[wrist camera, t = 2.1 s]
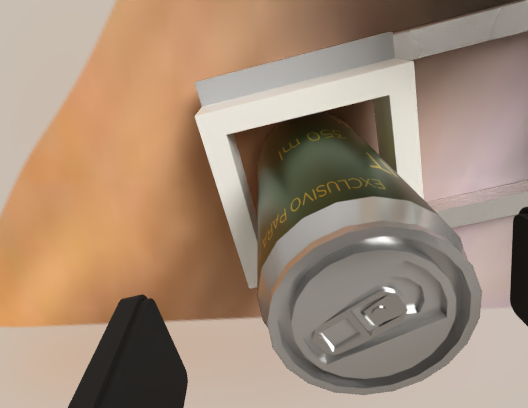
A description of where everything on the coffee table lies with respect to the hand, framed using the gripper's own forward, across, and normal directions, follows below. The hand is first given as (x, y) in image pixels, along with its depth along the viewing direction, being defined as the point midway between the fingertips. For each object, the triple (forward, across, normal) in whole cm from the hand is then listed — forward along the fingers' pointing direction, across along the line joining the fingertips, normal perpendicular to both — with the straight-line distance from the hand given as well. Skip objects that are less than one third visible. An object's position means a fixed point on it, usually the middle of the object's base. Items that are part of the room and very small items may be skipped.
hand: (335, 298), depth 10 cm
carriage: (+9, -1, 0) cm, 9 cm away
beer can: (+11, -1, 0) cm, 11 cm away
